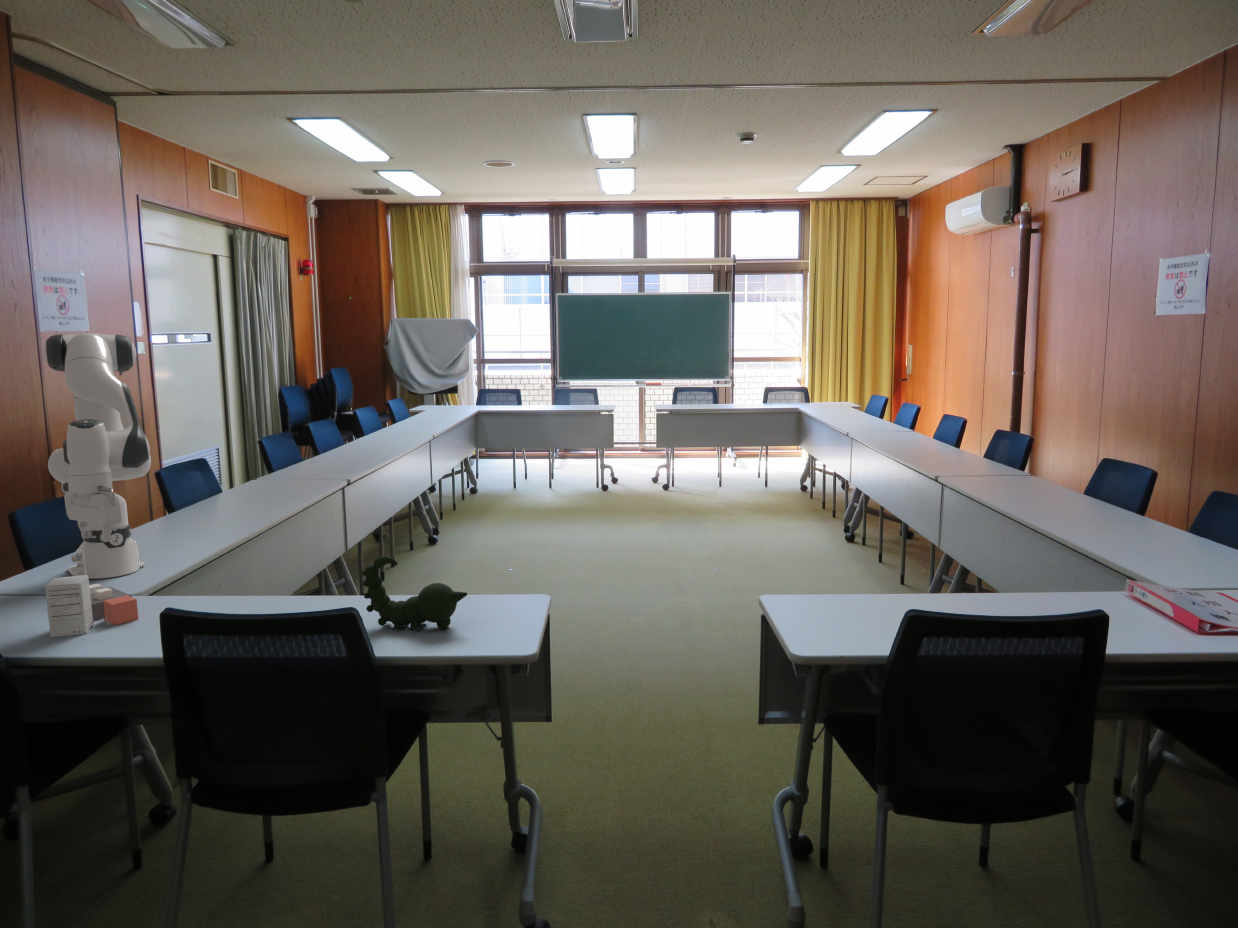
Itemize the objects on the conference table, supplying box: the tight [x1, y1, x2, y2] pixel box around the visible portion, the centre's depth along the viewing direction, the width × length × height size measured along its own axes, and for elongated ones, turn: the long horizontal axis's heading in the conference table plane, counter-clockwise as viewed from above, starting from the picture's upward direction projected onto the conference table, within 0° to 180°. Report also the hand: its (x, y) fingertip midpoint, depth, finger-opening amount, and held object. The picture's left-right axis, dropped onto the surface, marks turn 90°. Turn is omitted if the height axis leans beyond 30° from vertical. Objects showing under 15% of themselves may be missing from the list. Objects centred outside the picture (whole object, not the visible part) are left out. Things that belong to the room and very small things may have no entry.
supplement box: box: [44, 575, 94, 638], centre depth 190 cm, size 7×7×13 cm
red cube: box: [103, 595, 139, 626], centre depth 199 cm, size 5×5×5 cm
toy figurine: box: [361, 555, 468, 632], centre depth 192 cm, size 9×19×25 cm
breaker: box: [89, 583, 104, 596], centre depth 207 cm, size 3×3×4 cm
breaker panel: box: [90, 586, 132, 621], centre depth 206 cm, size 13×10×4 cm
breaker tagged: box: [94, 587, 113, 601], centre depth 204 cm, size 3×3×4 cm
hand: (96, 539), depth 200 cm, fingers open, 8 cm apart
